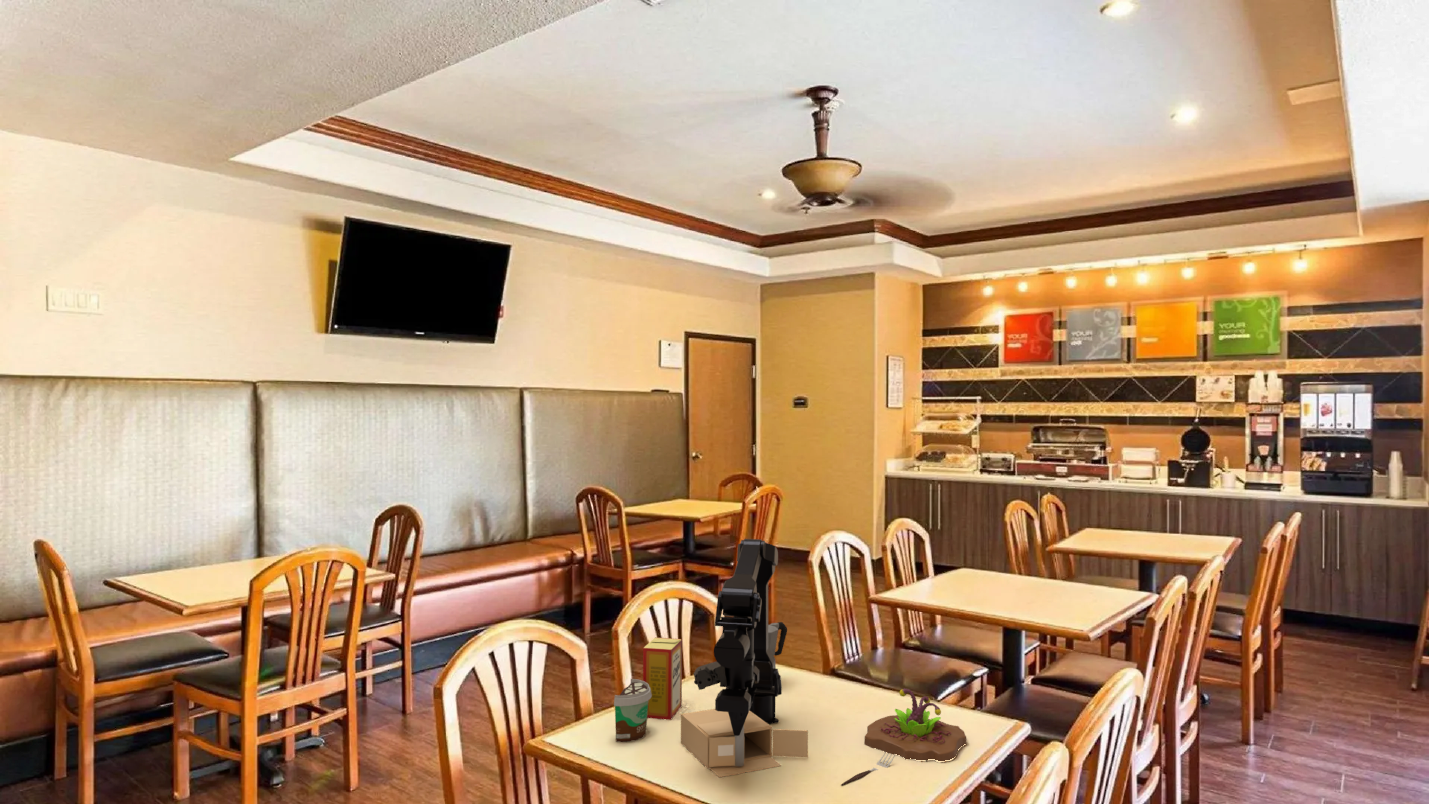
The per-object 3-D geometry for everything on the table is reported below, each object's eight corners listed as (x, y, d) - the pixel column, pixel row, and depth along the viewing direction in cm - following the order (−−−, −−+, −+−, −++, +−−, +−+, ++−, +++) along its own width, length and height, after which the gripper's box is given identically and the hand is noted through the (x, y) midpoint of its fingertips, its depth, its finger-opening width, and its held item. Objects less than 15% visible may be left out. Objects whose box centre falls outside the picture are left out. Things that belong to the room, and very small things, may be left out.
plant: (887, 719, 190) (887, 670, 190) (974, 737, 180) (974, 685, 180) (852, 749, 173) (852, 694, 174) (946, 771, 163) (946, 712, 163)
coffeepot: (750, 698, 203) (750, 623, 203) (727, 688, 211) (727, 616, 211) (798, 687, 212) (798, 615, 212) (774, 677, 219) (774, 608, 220)
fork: (835, 785, 156) (835, 775, 156) (884, 761, 167) (884, 751, 167) (846, 790, 154) (846, 779, 154) (895, 765, 165) (895, 755, 165)
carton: (766, 728, 184) (766, 699, 184) (810, 760, 166) (810, 728, 167) (680, 742, 175) (681, 712, 175) (717, 778, 158) (717, 744, 158)
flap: (743, 762, 164) (743, 710, 164) (744, 766, 162) (745, 714, 162) (708, 764, 163) (708, 712, 163) (710, 768, 161) (710, 715, 161)
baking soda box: (670, 720, 189) (671, 648, 189) (642, 717, 190) (643, 646, 190) (681, 705, 198) (681, 637, 198) (655, 703, 199) (655, 635, 200)
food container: (642, 747, 173) (642, 698, 173) (613, 744, 174) (613, 696, 175) (658, 725, 185) (658, 679, 185) (631, 723, 186) (631, 677, 187)
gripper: (705, 634, 173) (705, 710, 173) (688, 664, 154) (687, 748, 154) (759, 637, 171) (759, 714, 171) (748, 668, 152) (747, 753, 153)
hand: (738, 731), depth 162 cm, fingers open, 3 cm apart
